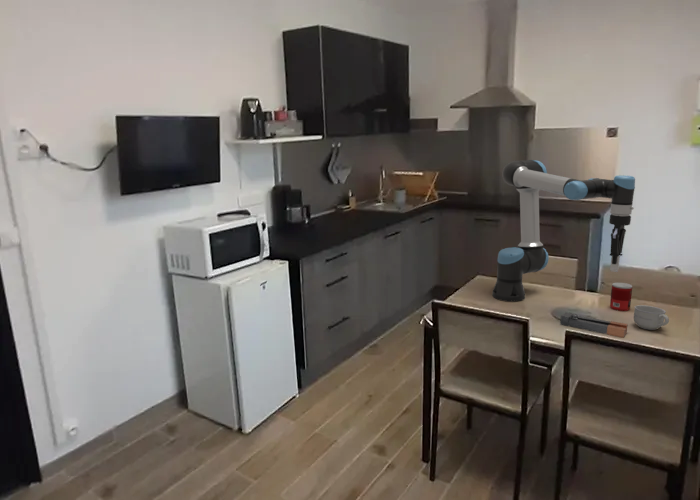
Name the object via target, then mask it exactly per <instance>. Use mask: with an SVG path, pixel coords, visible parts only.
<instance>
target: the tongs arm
mask: <svg viewBox="0 0 700 500" xmlns="http://www.w3.org/2000/svg"><path fill="white" fill-rule="evenodd" d="M571 317H572V318H574V319H579V320H584V321H589V322H594V323H599V324H604V325H612V326H617V327H623V328H626V333H625V334H627V332H628V326H629V324H628V323H624V322H618V321H612V320H611V321H610V320H605V319H597V318H592V317H586V316H581V315H579V314H577V313H572V314H571Z"/></svg>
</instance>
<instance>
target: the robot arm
mask: <svg viewBox="0 0 700 500" xmlns="http://www.w3.org/2000/svg"><path fill="white" fill-rule="evenodd" d="M501 176H502V180H503V182H504V183H506V184H507V185H508V186H513V187H516V189H515V190H516V191H517V192H518V193H519V205H520V206H519V208H520V209H519V211H520V212H519V213H520V217H519V218H520V242H519V244H517V247H506V248H502V249H500V251H498V253H497V260H496V261H497V267H496V282H495V284H494V286H493V288H492V293H491V294H492V297H493V298H494V299H496V300H497V301H498V300H499V301H503V302H520V301H523V300H525V299H526V291H525V288H524V284H523V275H525V274H528V273H529V274H530V273H536V272H539V271H542V270H544V269H545V268H546V267H547V266H548V264H549V259H550V258H549V253H548V251H547V249H545V248H544V243H542V242H541V239H540V234H541V233H540V196H539V195H540V191H544V192H547V193H551V194H556V195H560V196H564V197H565V198H567V199H568V200H570V201H581V200H586V199H595V198H596V199H597V198H601V199H602V198H603V199H604V198H605V199H611V204H610V211H609V212H610V214H609V221H608V222H609V224H610V225H613V228H612V231H611V234H610V253H609V257H611V259H610V268H609V271H610V272H615V273H618V272H619V266H620V257H623V248H624V241H625V237H626V236H625V235H626V232H627V230H626V228H625V226H630V225H631V220H632V216H631V215H632V211H633V210H634V209H635V207H634V206H633V202H634V194H635V193H634V192H635V189H636V177H635V176H633V175H624V174H623V175H621V174H619V175H615V176H614V177H613V179H607V178H599V177H598V178H597V177H596V178H595V177H594V178H593V177H591V178H588V179H586V180H585V179H584V180H581V179H577V178H576V179H575V178H571V177H566V176H562V175H557V174H556V175H555V174H551V173H548V171H547V168H546V165H545V164H543V163H542V161H539V160H534V159H527V160H526V159H525V160H513V161H510V162H509V163H507V164H505V166H504V167H503V169H502V173H501Z"/></svg>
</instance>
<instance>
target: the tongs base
mask: <svg viewBox="0 0 700 500" xmlns="http://www.w3.org/2000/svg"><path fill="white" fill-rule="evenodd" d="M571 314H573V313H571V312H568V311H565V312H564V313H563V314H561V316H560V324H559V325H561V326H566V327H569V328H570V327H571V328H577V329H582V330H586V331H591V332H595V333H600V334H603V335H604V334H605V335H609V336H614V337H618V338H625V337H626V334H627V333H626V328H623V327H617V326H612V325H604V324H599V323H594V322H589V321H584V320H579V319H577V318H572V317H571Z"/></svg>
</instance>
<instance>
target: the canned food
mask: <svg viewBox="0 0 700 500" xmlns="http://www.w3.org/2000/svg"><path fill="white" fill-rule="evenodd" d="M632 294H633V285H632V284H630V283H626V282H613V283H612V284H611V291H610V301H609V307H610V309H612V310H614V311H617V310H618V311H619V312H629V311H630V309H631V304H632V297H633V296H632Z"/></svg>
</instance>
